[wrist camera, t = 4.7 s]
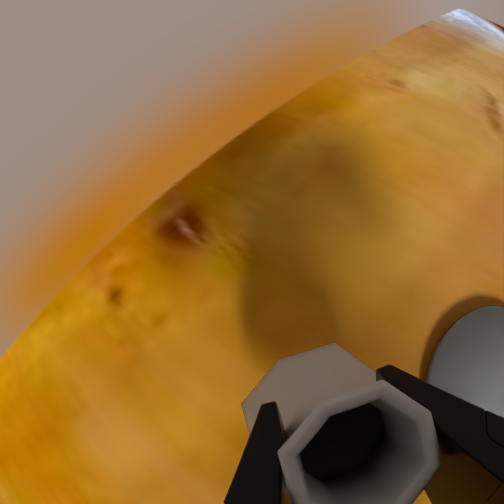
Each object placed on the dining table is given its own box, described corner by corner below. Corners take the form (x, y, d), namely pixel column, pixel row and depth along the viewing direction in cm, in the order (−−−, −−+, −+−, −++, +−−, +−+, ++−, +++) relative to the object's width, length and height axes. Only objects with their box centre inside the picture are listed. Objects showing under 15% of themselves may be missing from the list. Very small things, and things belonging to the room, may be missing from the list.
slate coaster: (516, 465, 13) (522, 466, 12) (399, 451, 16) (404, 453, 15) (545, 327, 17) (552, 324, 16) (443, 291, 20) (449, 286, 19)
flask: (217, 397, 15) (112, 404, 6) (337, 318, 16) (397, 220, 6) (295, 506, 12) (297, 630, 3) (414, 425, 13) (547, 447, 4)
